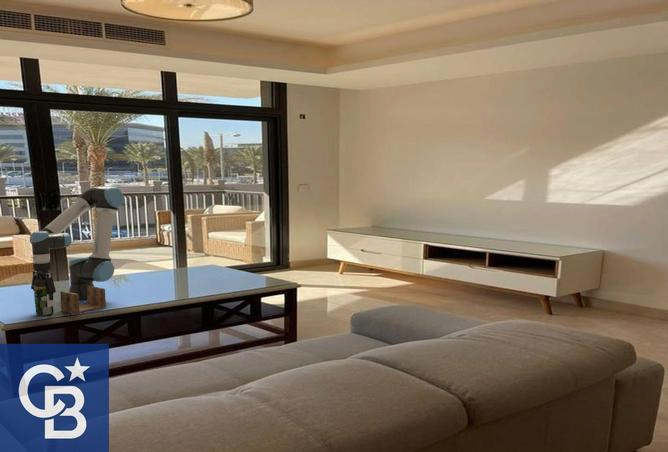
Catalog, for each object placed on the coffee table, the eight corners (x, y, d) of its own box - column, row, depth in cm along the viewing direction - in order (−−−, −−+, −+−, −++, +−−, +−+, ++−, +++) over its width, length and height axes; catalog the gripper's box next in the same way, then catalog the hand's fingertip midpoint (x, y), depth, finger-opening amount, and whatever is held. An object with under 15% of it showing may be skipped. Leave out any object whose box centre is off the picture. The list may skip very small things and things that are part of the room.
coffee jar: (35, 313, 259) (32, 277, 257) (52, 310, 264) (50, 275, 262) (36, 317, 251) (34, 280, 249) (54, 314, 256) (52, 278, 254)
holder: (59, 311, 263) (58, 291, 262) (91, 303, 278) (90, 285, 277) (75, 314, 255) (74, 294, 254) (107, 307, 270) (106, 288, 269)
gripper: (21, 261, 258) (24, 303, 260) (46, 265, 245) (49, 309, 247) (36, 259, 264) (39, 300, 266) (62, 263, 252) (64, 306, 254)
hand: (44, 304), depth 257 cm, fingers open, 11 cm apart
